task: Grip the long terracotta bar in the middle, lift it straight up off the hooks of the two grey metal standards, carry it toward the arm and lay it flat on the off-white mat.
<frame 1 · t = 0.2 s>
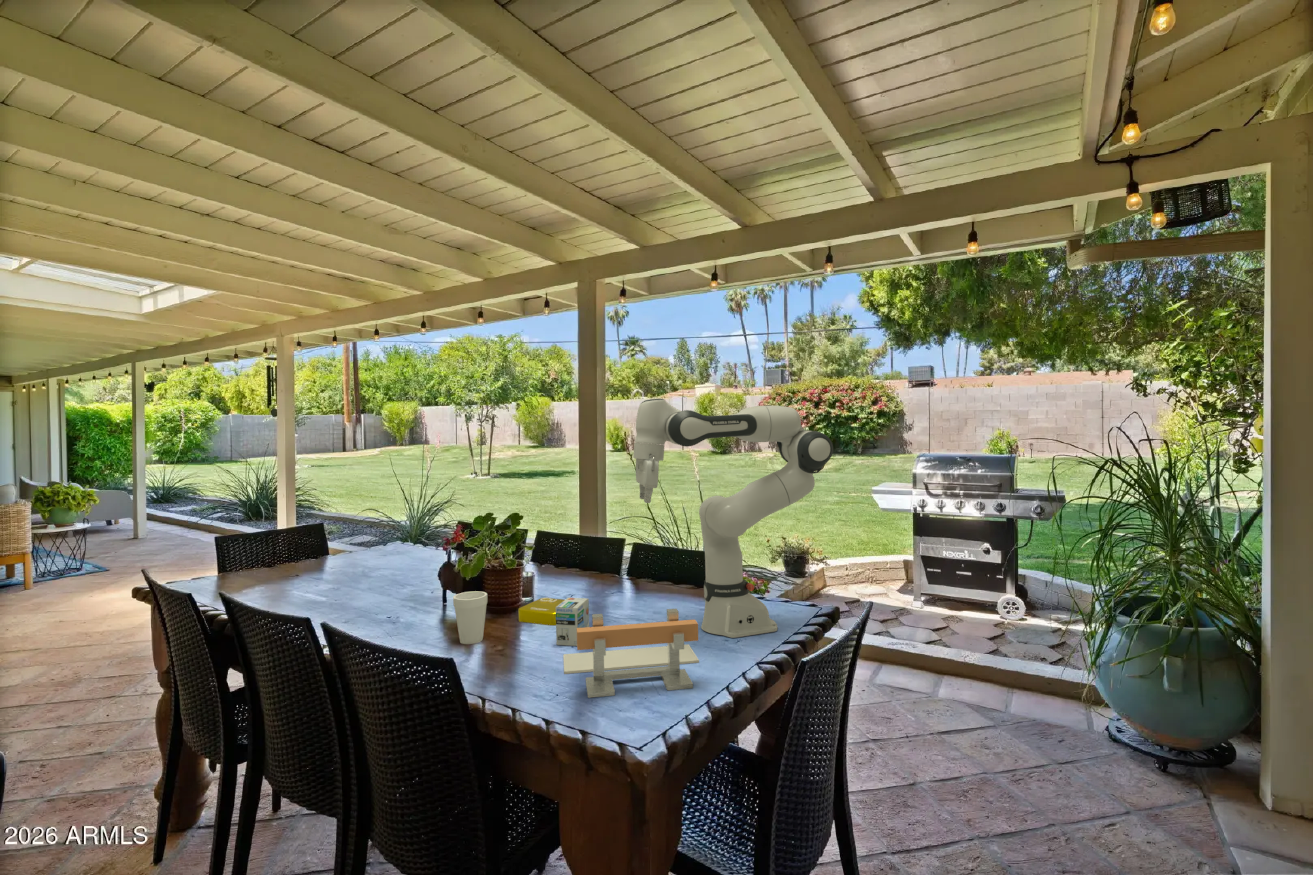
hand: (644, 500, 178), 39 cm above the table, tool pointing down, fingers open, 8 cm apart
element tile: (549, 618, 197), on the table
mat: (629, 659, 158), on the table
foam cup: (471, 641, 176), on the table
light bulb box: (573, 640, 175), on the table
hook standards: (638, 686, 141), on the table
rail: (637, 643, 141), point 10 cm above the table, touching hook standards
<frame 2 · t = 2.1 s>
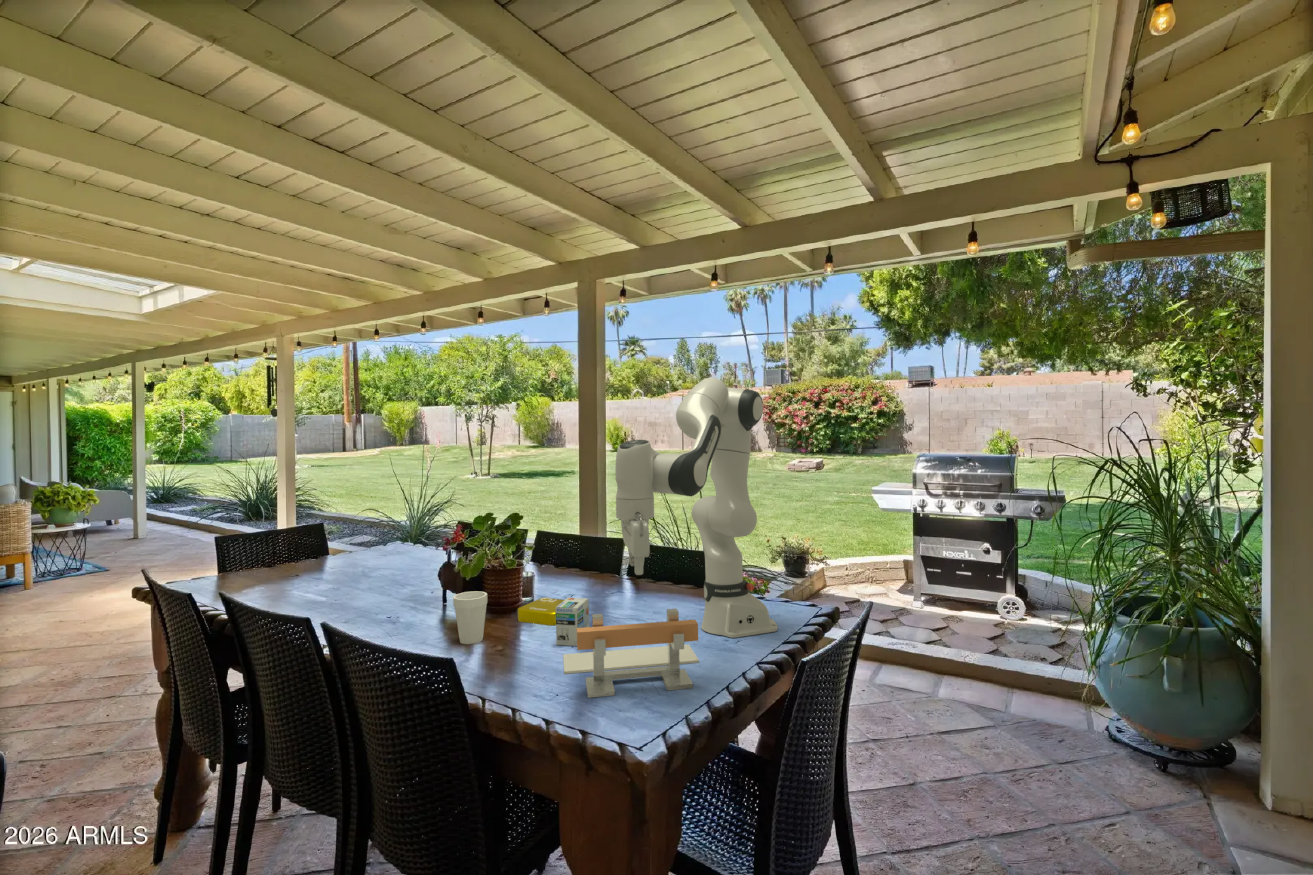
hand: (636, 569, 141), 27 cm above the table, tool pointing down, fingers open, 8 cm apart
nothing on the table moved.
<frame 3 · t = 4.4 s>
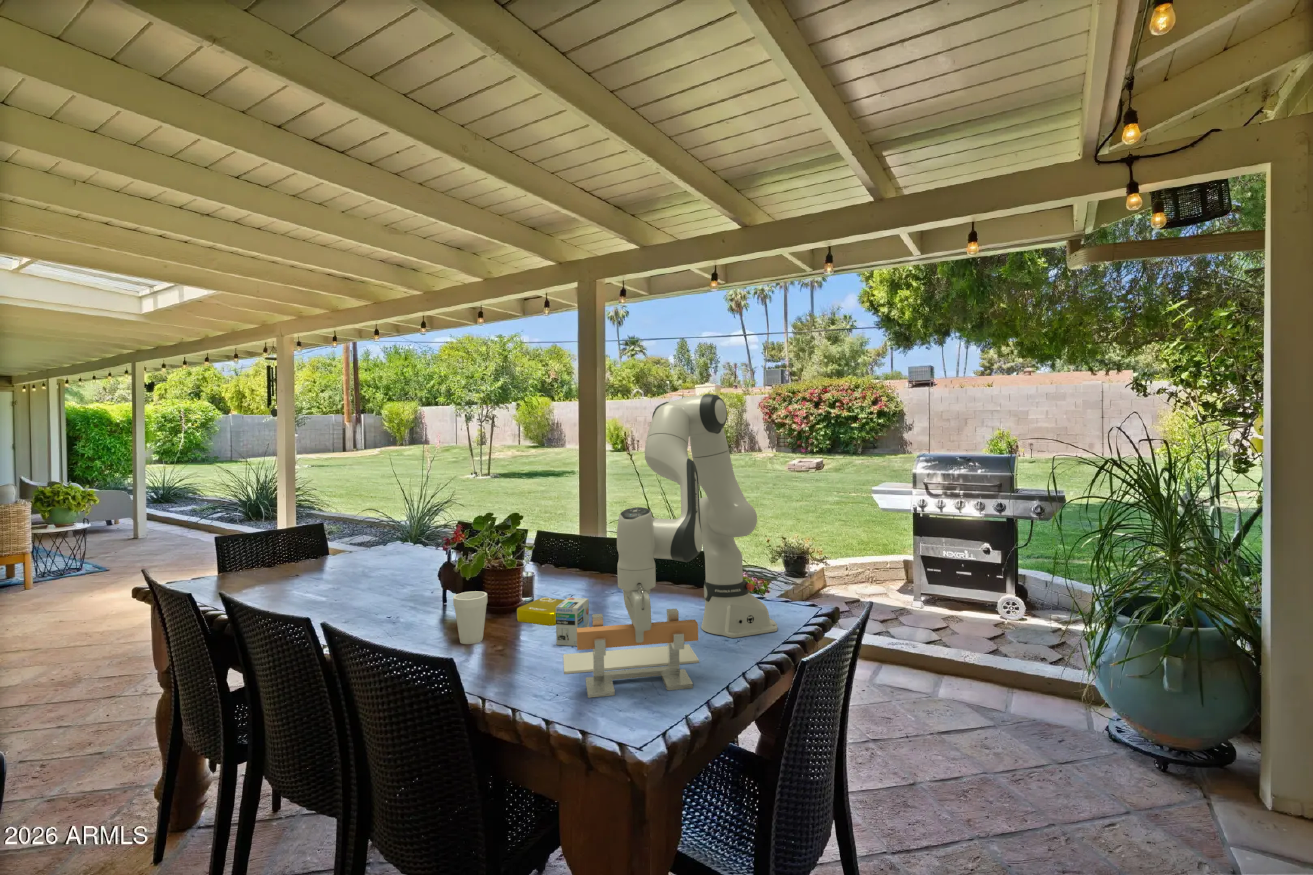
hand: (637, 638, 141), 11 cm above the table, tool pointing down, fingers closed on rail, 3 cm apart
rail: (637, 643, 141), point 10 cm above the table, touching gripper, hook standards
everything else where it was.
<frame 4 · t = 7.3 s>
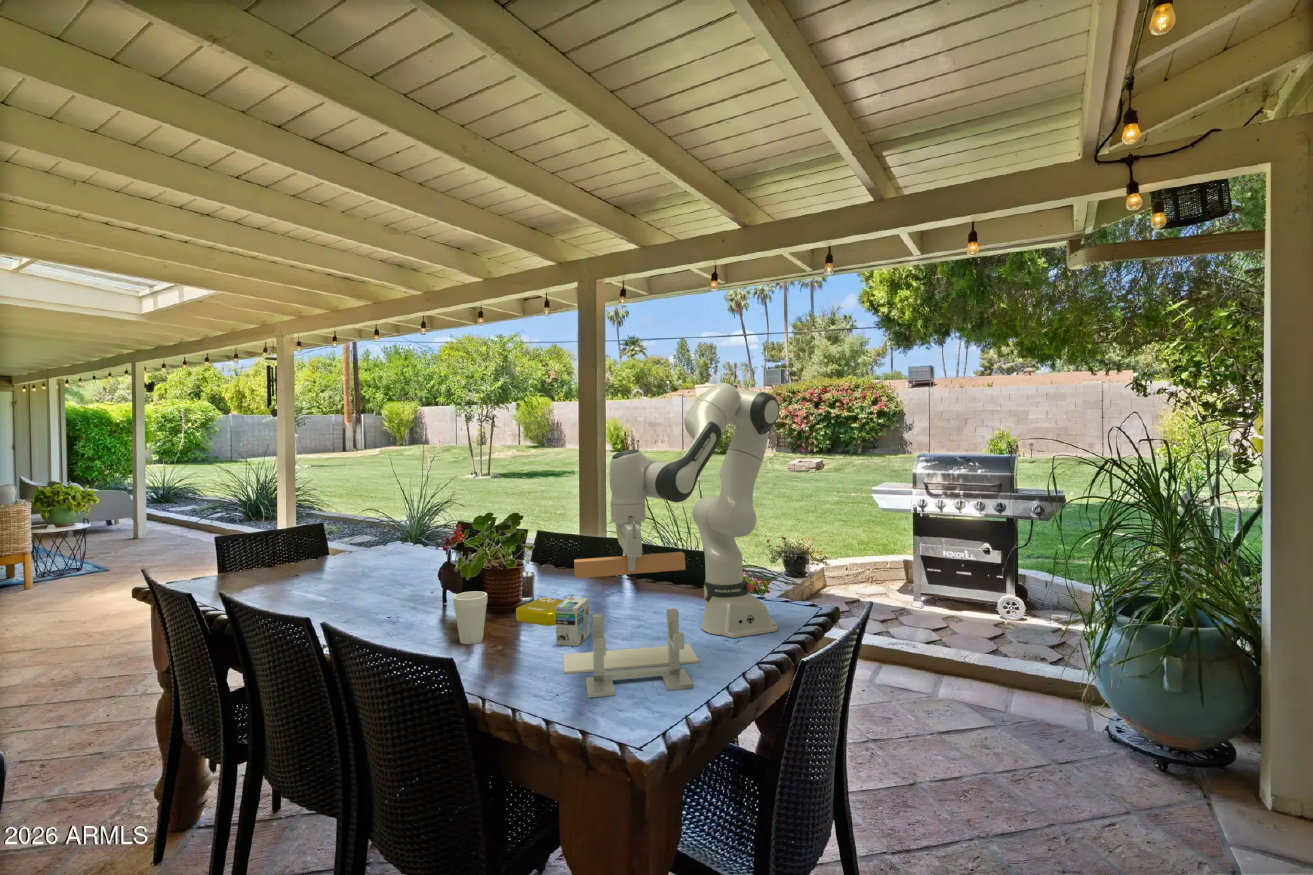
hand: (630, 568, 155), 24 cm above the table, tool pointing down, fingers closed on rail, 3 cm apart
rail: (630, 572, 155), point 23 cm above the table, touching gripper
everything else where it was.
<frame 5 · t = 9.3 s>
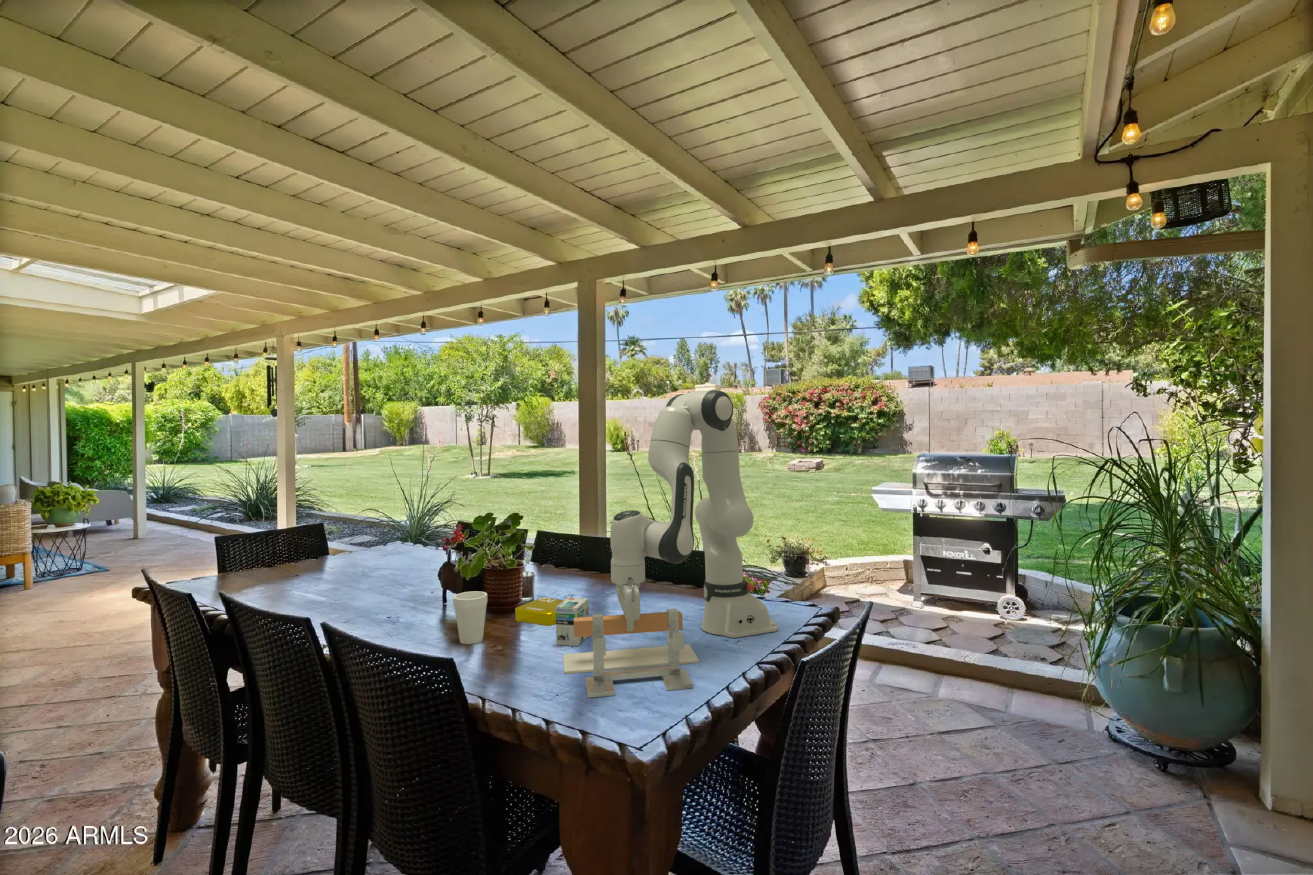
hand: (628, 627, 158), 8 cm above the table, tool pointing down, fingers closed on rail, 3 cm apart
rail: (628, 631, 158), point 7 cm above the table, touching gripper
everything else where it was.
when the fingers open (3 cm above the table, at t = 10.6 s): rail drops 1 cm, resting on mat.
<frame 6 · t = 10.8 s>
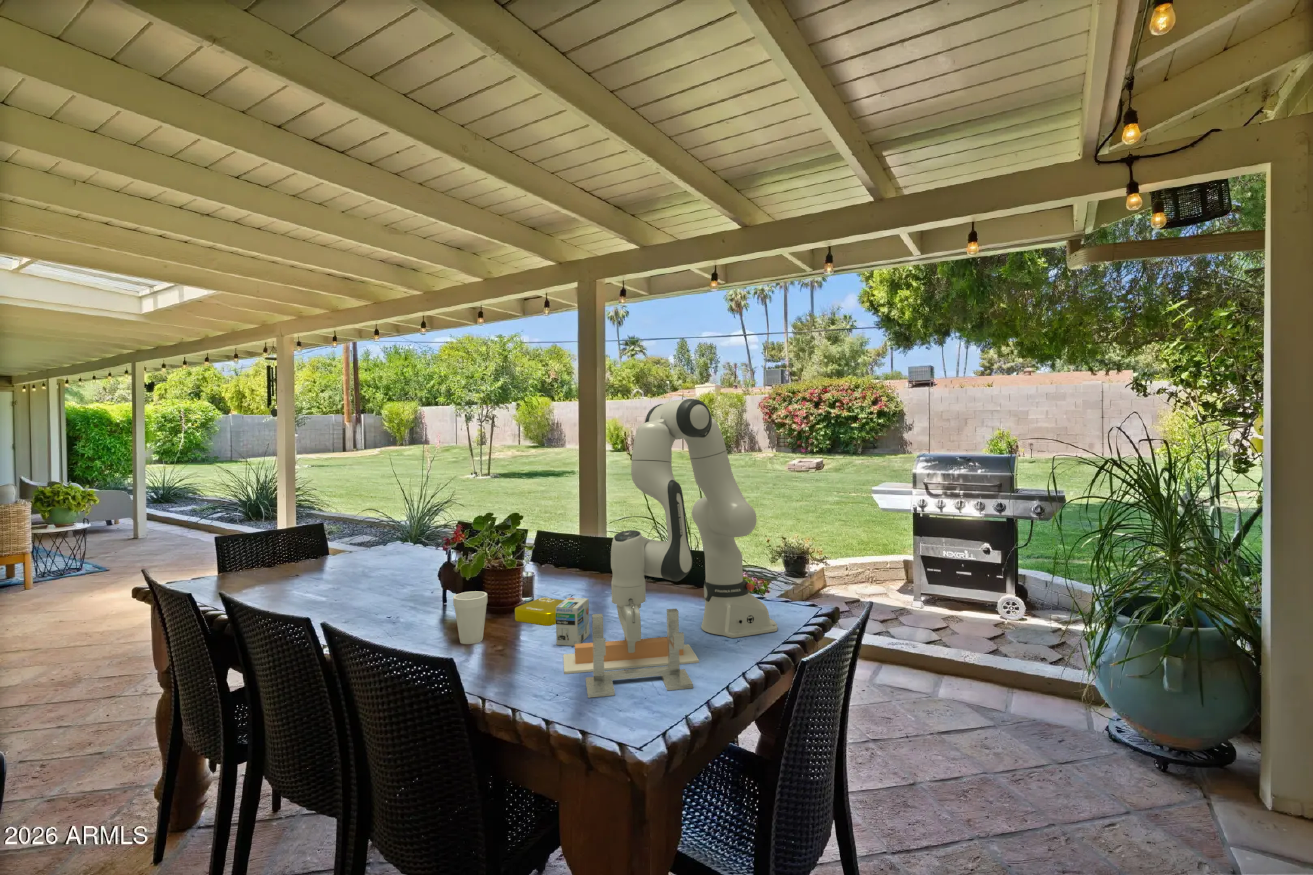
hand: (629, 647, 158), 3 cm above the table, tool pointing down, fingers open, 5 cm apart
rail: (629, 657, 158), point 1 cm above the table, touching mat
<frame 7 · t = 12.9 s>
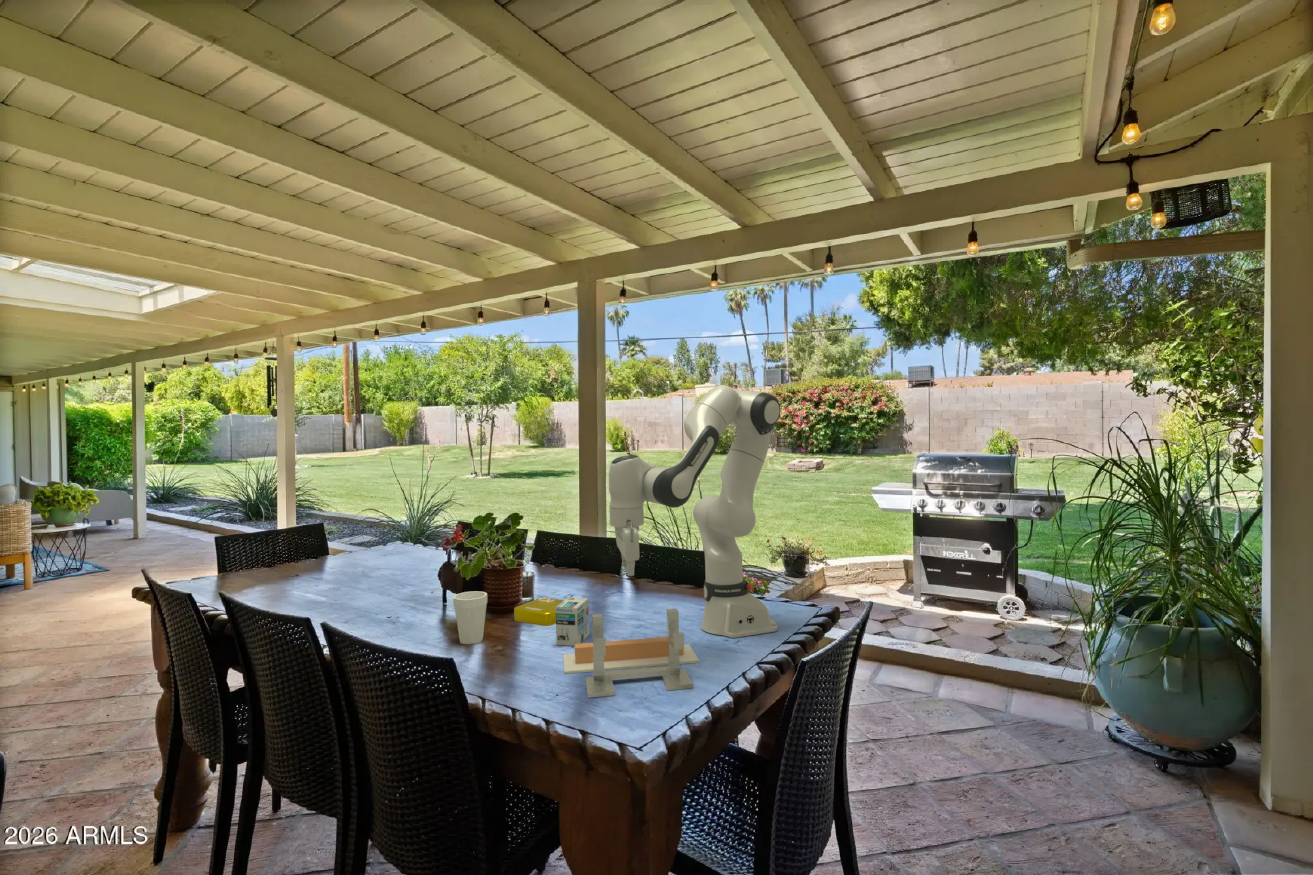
hand: (628, 571, 158), 23 cm above the table, tool pointing down, fingers open, 8 cm apart
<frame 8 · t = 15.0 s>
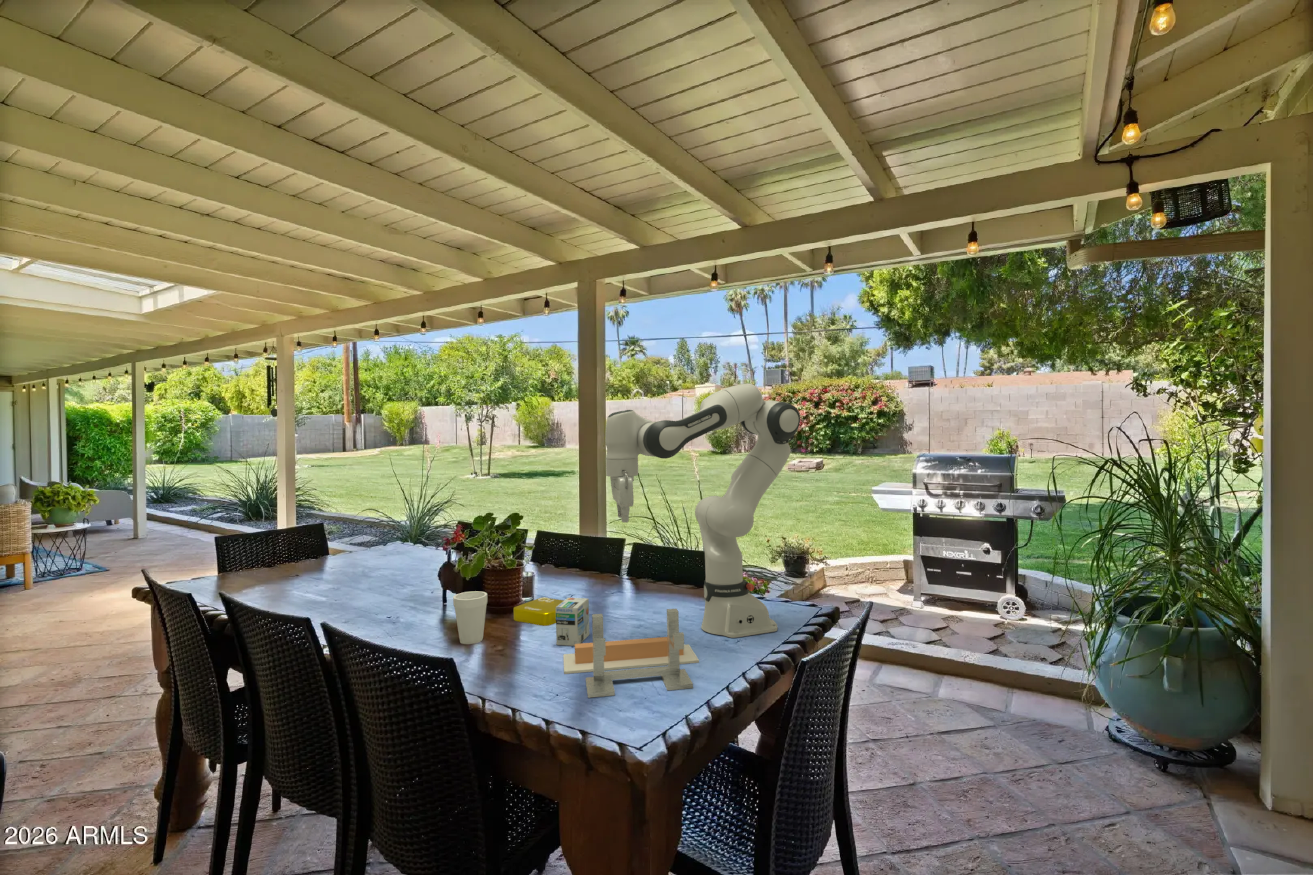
hand: (623, 519, 167), 35 cm above the table, tool pointing down, fingers open, 8 cm apart
at the end: rail inside the target area (0.1 cm from its centre), point 0.6 cm above the table; rail tilted 0°; the gripper is holding nothing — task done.
